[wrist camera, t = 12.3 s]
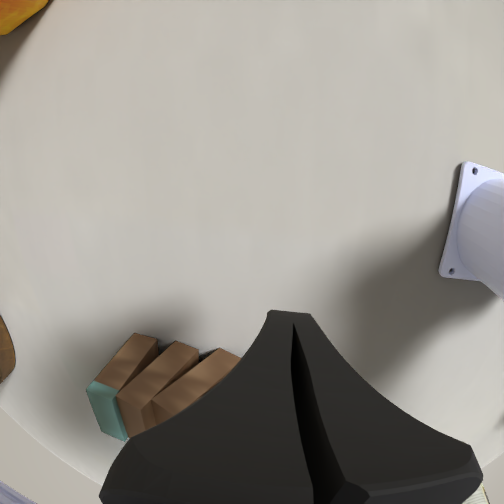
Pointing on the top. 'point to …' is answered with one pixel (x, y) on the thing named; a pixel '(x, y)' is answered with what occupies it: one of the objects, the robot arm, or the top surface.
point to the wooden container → (5, 352)
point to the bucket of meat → (17, 12)
